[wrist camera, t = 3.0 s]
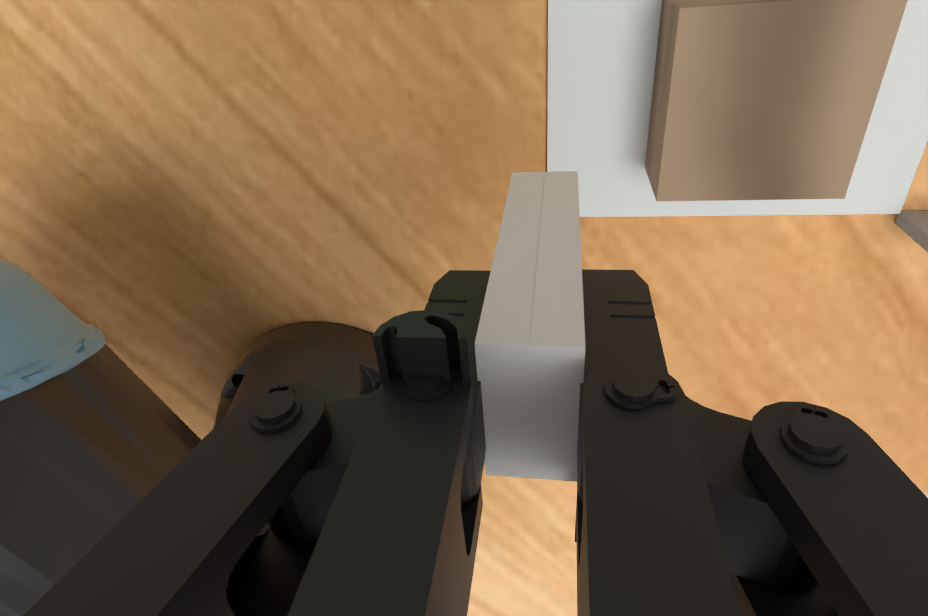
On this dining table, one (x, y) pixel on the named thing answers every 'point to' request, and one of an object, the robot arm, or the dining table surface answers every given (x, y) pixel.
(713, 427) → the robot arm
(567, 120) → the runner mat
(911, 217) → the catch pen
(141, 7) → the dining table surface
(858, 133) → the brown block
